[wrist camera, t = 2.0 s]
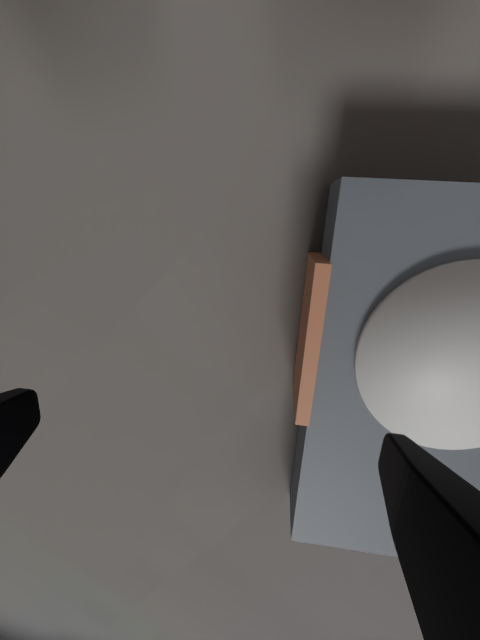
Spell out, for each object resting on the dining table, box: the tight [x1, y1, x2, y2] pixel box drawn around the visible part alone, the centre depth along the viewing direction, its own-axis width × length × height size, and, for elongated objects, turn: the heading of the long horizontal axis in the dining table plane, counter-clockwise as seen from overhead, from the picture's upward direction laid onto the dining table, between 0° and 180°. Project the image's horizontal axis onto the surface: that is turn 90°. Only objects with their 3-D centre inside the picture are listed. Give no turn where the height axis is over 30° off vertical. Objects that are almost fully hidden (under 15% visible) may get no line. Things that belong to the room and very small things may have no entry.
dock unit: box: [290, 177, 480, 557], centre depth 15 cm, size 12×18×4 cm, turn 177°
